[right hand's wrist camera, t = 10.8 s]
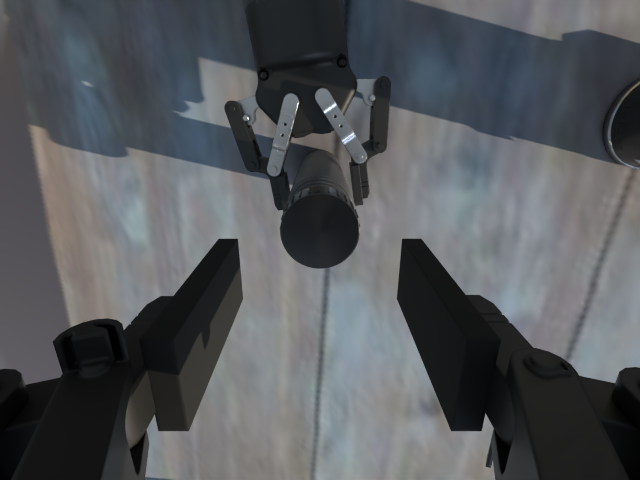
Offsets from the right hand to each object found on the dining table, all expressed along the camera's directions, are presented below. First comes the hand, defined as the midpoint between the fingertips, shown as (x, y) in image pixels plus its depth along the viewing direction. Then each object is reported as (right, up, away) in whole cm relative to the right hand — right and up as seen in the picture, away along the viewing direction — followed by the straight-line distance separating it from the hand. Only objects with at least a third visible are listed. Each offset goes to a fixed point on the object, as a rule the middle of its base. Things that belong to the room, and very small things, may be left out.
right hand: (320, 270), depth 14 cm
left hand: (0, +4, +18) cm, 19 cm away
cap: (0, +2, +5) cm, 5 cm away
